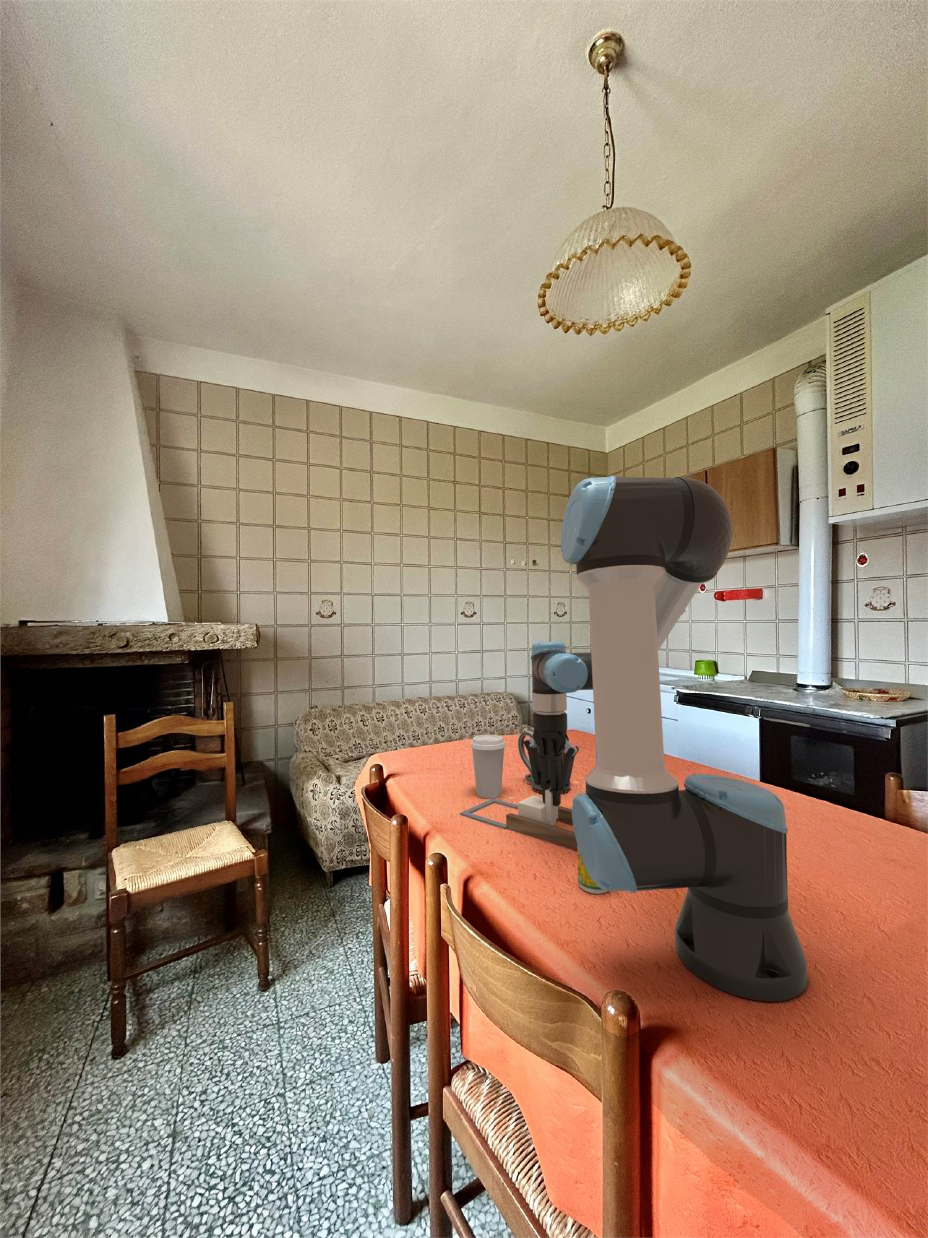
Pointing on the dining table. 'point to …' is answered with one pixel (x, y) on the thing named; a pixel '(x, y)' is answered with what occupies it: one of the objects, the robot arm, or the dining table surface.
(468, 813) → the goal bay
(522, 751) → the mug
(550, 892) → the dining table surface
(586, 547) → the robot arm
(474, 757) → the coffee cup
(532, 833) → the chute
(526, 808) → the block
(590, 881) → the supplement bottle
